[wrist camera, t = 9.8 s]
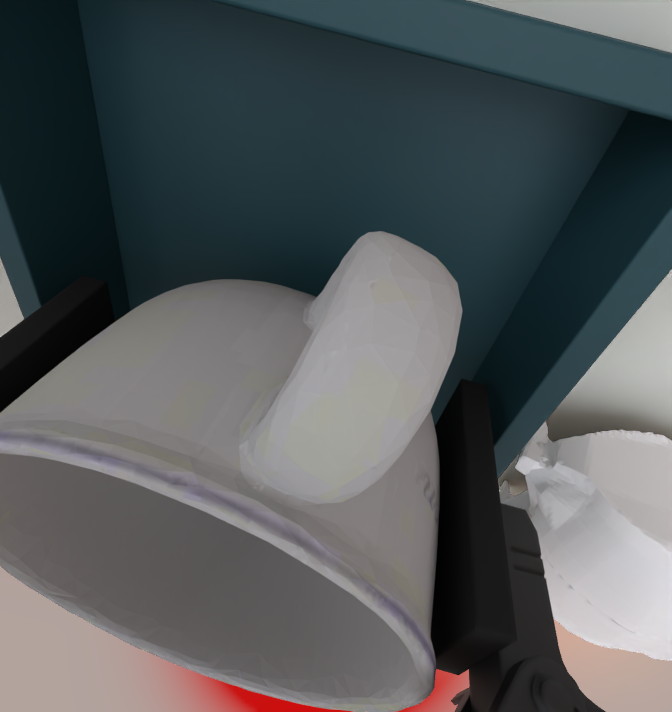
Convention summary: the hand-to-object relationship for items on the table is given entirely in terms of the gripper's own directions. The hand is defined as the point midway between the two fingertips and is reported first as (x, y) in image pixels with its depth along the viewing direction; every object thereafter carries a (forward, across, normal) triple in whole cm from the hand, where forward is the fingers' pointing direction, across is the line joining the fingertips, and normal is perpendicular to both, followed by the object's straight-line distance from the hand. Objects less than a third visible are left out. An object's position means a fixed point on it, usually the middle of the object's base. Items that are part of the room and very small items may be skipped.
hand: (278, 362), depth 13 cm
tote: (+4, 0, 0) cm, 4 cm away
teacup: (+1, +1, 0) cm, 1 cm away
